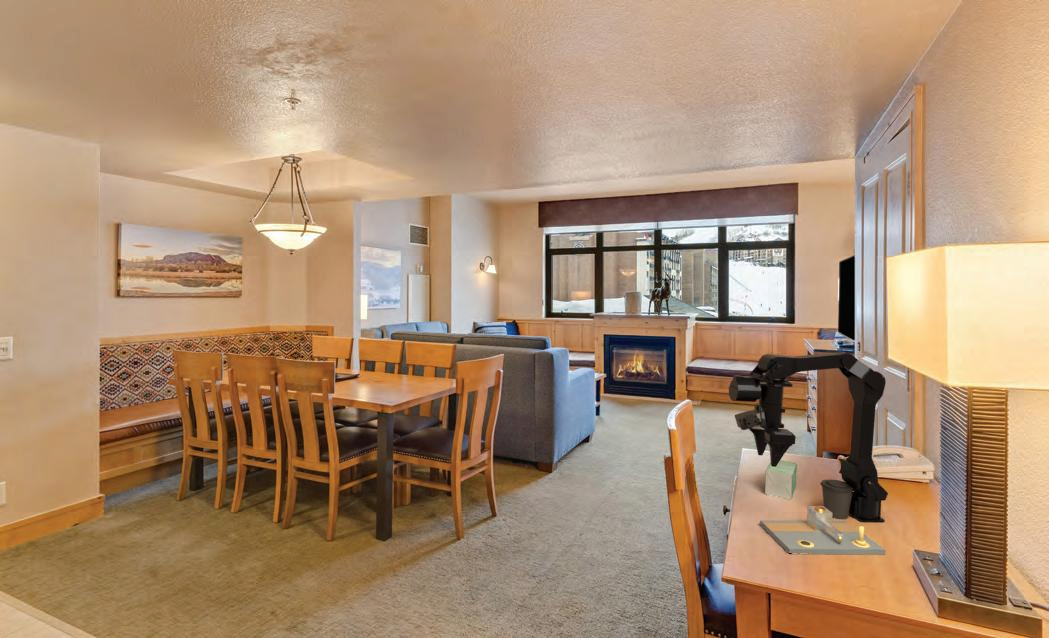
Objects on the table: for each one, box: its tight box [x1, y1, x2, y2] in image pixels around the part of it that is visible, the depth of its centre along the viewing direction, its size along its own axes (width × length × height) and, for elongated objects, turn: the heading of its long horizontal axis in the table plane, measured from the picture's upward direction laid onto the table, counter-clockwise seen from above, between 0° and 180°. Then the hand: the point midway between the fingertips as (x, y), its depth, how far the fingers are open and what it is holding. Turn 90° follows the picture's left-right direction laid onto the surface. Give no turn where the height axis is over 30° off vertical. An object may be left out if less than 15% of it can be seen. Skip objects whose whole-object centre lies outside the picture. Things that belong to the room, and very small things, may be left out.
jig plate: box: [759, 519, 886, 556], centre depth 128 cm, size 22×15×5 cm
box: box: [764, 460, 798, 500], centre depth 160 cm, size 7×14×8 cm, turn 148°
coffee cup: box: [819, 479, 855, 521], centre depth 142 cm, size 8×8×10 cm
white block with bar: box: [806, 505, 843, 543], centre depth 128 cm, size 4×11×5 cm, turn 0°
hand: (766, 460), depth 140 cm, fingers open, 9 cm apart
